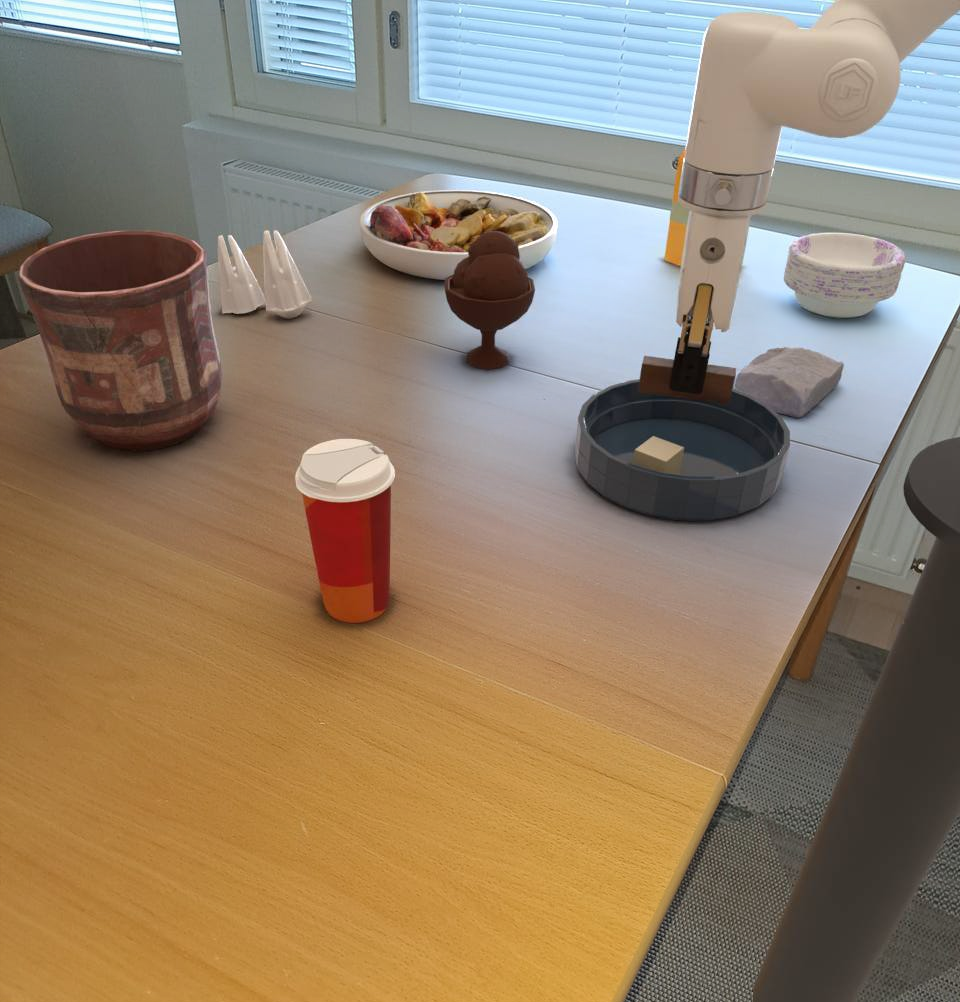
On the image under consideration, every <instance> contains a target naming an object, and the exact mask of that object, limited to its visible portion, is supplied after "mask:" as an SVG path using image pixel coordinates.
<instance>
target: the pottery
mask: <svg viewBox="0 0 960 1002" xmlns="http://www.w3.org/2000/svg"><path fill="white" fill-rule="evenodd" d="M208 269H209V268H208V257H207V251H206V249H204V248H203V247H202V246H201V245H200V243H198V242H197V241H196V240H192V239H190V238H186V237H184V236H181V235H178V234H176V233H170V232H162V231H153V230H114V231H106V232H97V233H89V234H84V235H79V236H75V237H73V238H69V239H63V240H60V241H58V242H56V243H53V244H51V245H48V246H45V247H43V248H41V249H39V250H37V251H36V252H35V253H33V254H32V255H30V256H29V257H27V258H26V259H25V260H24V261H23V263H22V264H21V265H20V266H19V267H18V274H17V279H18V282H19V285H20V288H21V290H22V293H23V296H24V298H25V300H26V303H27V305H28V307H29V310H30V312H31V315H32V318H33V320H34V322H35V326H36V328H37V331H38V333H39V336H40V340H41V342H42V344H43V347H44V351H45V354H46V358H47V361H48V365H49V368H50V372H51V375H52V378H53V383H54V387H55V389H56V392H57V395H58V399H59V402H60V404H61V406H62V407H63V409H64V411H65V413H66V414H67V415H68V416H69V417H70V418H71V419H72V420H73V422H74V423H76V424H77V426H78V427H79V428H80V429H81V430H82V431H83V432H84V433H85V434H86V435H87V436H90V437H92V438H93V439H95V440H96V441H99V442H101V443H102V444H104V445H106V446H108V447H111V448H112V449H117V450H124V451H129V452H132V451H133V452H136V451H137V452H139V451H153V450H158V449H162V448H168V447H170V446H173V445H175V444H179V443H182V442H184V441H186V440H188V439H189V438H190V437H192V436H194V435H196V433H197V432H198V431H199V430H200V429H201V427H202V426H203V425H204V424H205V423H206V421H208V419H209V418H210V417H211V415H212V414H213V413H215V410H216V407H217V405H218V402H219V400H220V397H221V389H222V379H223V371H222V364H221V363H222V362H221V358H220V357H221V356H220V353H219V347H218V344H217V339H216V333H215V330H214V326H213V325H214V324H213V317H212V308H211V299H210V288H209V271H208Z"/></svg>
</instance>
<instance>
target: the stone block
mask: <svg viewBox="0 0 960 1002" xmlns="http://www.w3.org/2000/svg"><path fill="white" fill-rule="evenodd" d="M844 366H845V364H844V362H843V361H838V360H836V359H833V358H831V357H829V356H827V355H824V354H822V353H820V352H818V351H815V350H814V351H813V350H812V349H810V348H809V349H808V348H804V347H785V346H783V347H775V348H769V349H767V350H766V351H765V352H764V353H761V354H759V355H758V356H755V358H754V359H752V360H751V362H749V363H748V365H745V366H744V367H742V369H740V371H739V372H738V374H736V377H735V381H734V387H735V390H738V391H740V392H743V393H746V394H748V395H751V396H752V397H754V398H756V399H758V400H759V401H761V402H763V403H765V404H766V405H768V406H770V407H771V408H772V409H773V410H774V411H775V412H776V413H777V414H779V415H784V416H789V417H792V418H799V419H800V418H803V417H804V416H805V415H806V414H808V413H809V412H810V411H811V410H812V409H813V408H814V407H815V406H817V404H819V403H820V402H821V401H822V400H824V398H825V397H826V396H827V395H829V394H830V393H831V392H832V391H834V389H835V388H836V387H837V386H838V384H839V383H840V381H841V379H842V376H843V375H842V374H843V370H844Z"/></svg>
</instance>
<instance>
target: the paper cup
mask: <svg viewBox="0 0 960 1002" xmlns="http://www.w3.org/2000/svg"><path fill="white" fill-rule="evenodd" d="M384 453H385V451H383V450H382V449H380V447H378V446H377V445H374V443H372V442H371V441H367V440H363V439H358V438H338V439H332V440H331V439H330V440H327V441H322V442H320V443H318V444H315V445H313V446H312V447H310V448H308V449H307V450H306V451H305V452H304V453H303V455H302V456H301V461H300V464H299V466H298V468H297V469H296V472H295V474H294V480H295V487H296V489H297V491H299V492H300V493H301V496H302V500H303V501H302V502H303V507H304V511H305V516H306V522H307V527H308V533H309V538H310V542H311V548H312V552H313V558H314V564H315V568H316V571H317V572H316V573H317V578H318V582H319V587H320V593H321V597H322V602H323V605H324V609H325V611H326V612H327V614H328V615H329V616H330V617H332V618H333V619H335V620H337V621H340V622H343V623H350V624H359V623H367V622H369V621H373V620H375V619H377V618H378V617H380V616H381V615H382V614H383V613H385V611H386V610H387V609H388V607H389V603H390V589H391V587H390V586H391V531H392V530H391V529H392V528H391V525H392V524H391V523H392V519H391V518H392V484H393V482H394V480H395V477H396V470H395V467H394V465H393V464H392V462H391V461H390V458H389V456H388V454H387V453H386V454H384Z"/></svg>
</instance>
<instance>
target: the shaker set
mask: <svg viewBox="0 0 960 1002" xmlns="http://www.w3.org/2000/svg"><path fill="white" fill-rule="evenodd" d="M273 237H274V243H275V247H274V243H273V241H272V237H271V235H270V231H269V230H267V229H266V230H264V231H263V237H262V238H263V241H262V243H263V244H262V258H263V259H262V260H263V284H264V286H263V287H264V292H263V289H262V288H261V285H260V283H259V282H258V280H257V278H256V277H255V274H254V272H253V271H252V268H251V266H250V264H249V263H248V260H246V258H245V256H244V254H243V252H242V250H241V248H240V246H239V245H238V243H237V242H236V240H235V239H234V237H233V235H231V234H228V235H227V241H228V245H229V248H230V251H231V255H232V258H233V262H234V266H233V265H232V262H231V258H230V254H229V252H228V251H229V250H228V248H227V244H226V242H225V239H224V236H223V234H221V235H218V236H217V260H218V261H217V263H218V278H219V288H220V291H219V293H220V303H221V313H222V314H232V313H233V314H235V315H236V314H237V315H239V314H246V313H251V312H253V311H255V310H257V308H258V307H260V306H263V305H265V312H266V313H271V314H274V315H276V316H279V317H281V318H282V319H293V318H296V317H298V316H300V315H301V314H302V313H303V312H305V310H306V309H307V307H308V306H309V305H310V304H311V303H312V301H313V299H312V296H311V293H310V291H309V290H308V287H307V285H306V284H305V282H304V280H303V277H302V275H301V273H300V271H299V269H298V267H297V265H296V263H295V261H294V259H293V257H292V254H291V253H290V251H289V249H288V247H287V245H286V243H285V241H284V239H283V237H282V236H281V234H280V233H279V231H278V230H276V229H275V230H273Z"/></svg>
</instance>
